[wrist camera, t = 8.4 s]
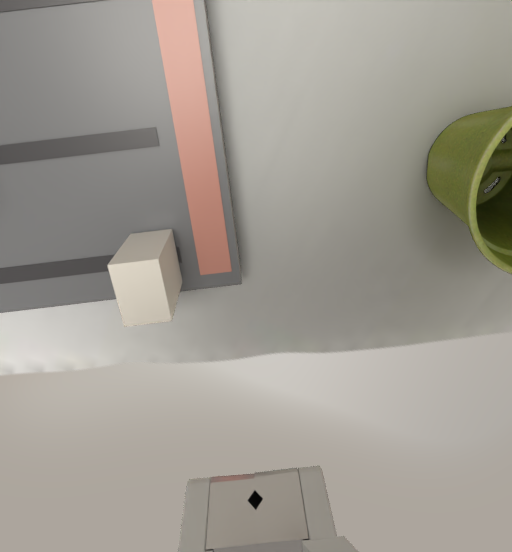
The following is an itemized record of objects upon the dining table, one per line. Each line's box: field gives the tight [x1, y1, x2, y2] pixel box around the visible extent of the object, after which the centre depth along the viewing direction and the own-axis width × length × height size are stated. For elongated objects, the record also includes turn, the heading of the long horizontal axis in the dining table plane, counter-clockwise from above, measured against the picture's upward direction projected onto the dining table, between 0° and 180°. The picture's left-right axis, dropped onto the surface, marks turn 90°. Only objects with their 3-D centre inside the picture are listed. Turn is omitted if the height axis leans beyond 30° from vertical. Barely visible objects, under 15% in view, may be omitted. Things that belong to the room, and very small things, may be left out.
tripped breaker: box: [107, 229, 182, 327], centre depth 23 cm, size 2×4×5 cm
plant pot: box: [427, 106, 512, 274], centre depth 23 cm, size 9×9×9 cm
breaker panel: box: [0, 0, 242, 313], centre depth 24 cm, size 20×19×3 cm
